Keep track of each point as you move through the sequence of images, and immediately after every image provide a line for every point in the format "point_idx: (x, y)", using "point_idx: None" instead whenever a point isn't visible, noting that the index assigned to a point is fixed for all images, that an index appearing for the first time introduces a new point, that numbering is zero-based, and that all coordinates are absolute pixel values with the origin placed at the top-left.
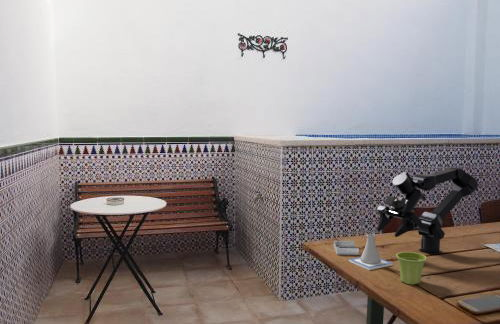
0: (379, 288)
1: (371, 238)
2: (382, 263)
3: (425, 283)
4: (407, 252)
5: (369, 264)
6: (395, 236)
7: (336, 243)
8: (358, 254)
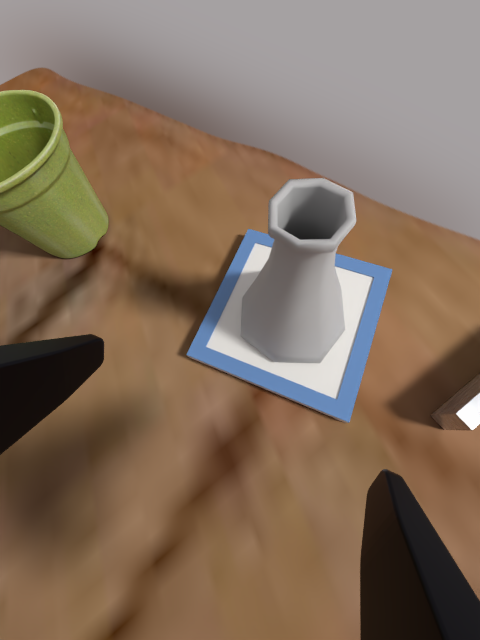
0: (151, 133)
1: (287, 206)
2: (225, 319)
3: (27, 246)
4: (8, 178)
5: None
6: (98, 347)
7: None
8: (433, 414)
